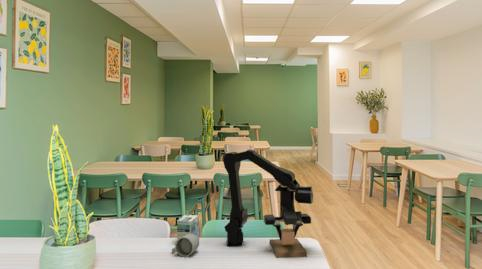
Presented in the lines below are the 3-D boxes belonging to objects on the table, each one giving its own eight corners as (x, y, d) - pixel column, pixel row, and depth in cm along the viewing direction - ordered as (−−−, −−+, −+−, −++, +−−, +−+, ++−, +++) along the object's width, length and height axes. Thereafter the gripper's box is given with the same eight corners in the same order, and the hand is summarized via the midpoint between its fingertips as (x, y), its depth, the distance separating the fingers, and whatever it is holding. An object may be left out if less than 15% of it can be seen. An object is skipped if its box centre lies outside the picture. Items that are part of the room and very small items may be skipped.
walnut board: (276, 257, 141) (276, 252, 141) (269, 244, 157) (269, 239, 157) (306, 256, 142) (306, 251, 142) (296, 243, 158) (296, 238, 158)
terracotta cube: (282, 244, 147) (282, 232, 147) (279, 240, 152) (279, 228, 152) (294, 244, 147) (294, 231, 147) (291, 240, 152) (291, 228, 152)
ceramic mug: (200, 250, 150) (200, 232, 150) (193, 257, 142) (192, 238, 142) (177, 249, 153) (176, 230, 152) (168, 255, 145) (167, 236, 145)
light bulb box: (191, 246, 155) (191, 221, 155) (176, 245, 157) (176, 220, 156) (199, 238, 166) (199, 214, 166) (185, 237, 167) (185, 214, 167)
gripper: (267, 207, 140) (267, 247, 141) (315, 206, 142) (315, 245, 143) (263, 201, 152) (263, 238, 152) (307, 200, 153) (307, 236, 154)
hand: (287, 239), depth 150 cm, fingers closed on terracotta cube, 5 cm apart
